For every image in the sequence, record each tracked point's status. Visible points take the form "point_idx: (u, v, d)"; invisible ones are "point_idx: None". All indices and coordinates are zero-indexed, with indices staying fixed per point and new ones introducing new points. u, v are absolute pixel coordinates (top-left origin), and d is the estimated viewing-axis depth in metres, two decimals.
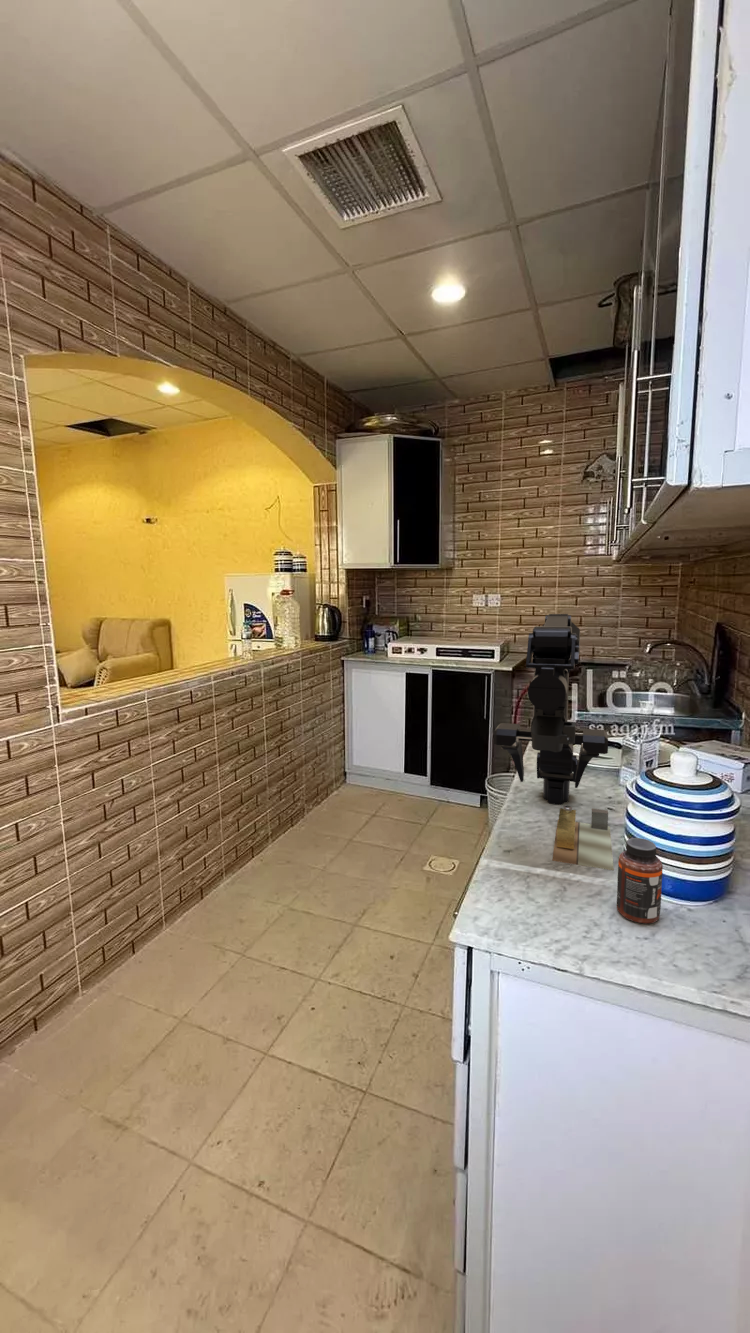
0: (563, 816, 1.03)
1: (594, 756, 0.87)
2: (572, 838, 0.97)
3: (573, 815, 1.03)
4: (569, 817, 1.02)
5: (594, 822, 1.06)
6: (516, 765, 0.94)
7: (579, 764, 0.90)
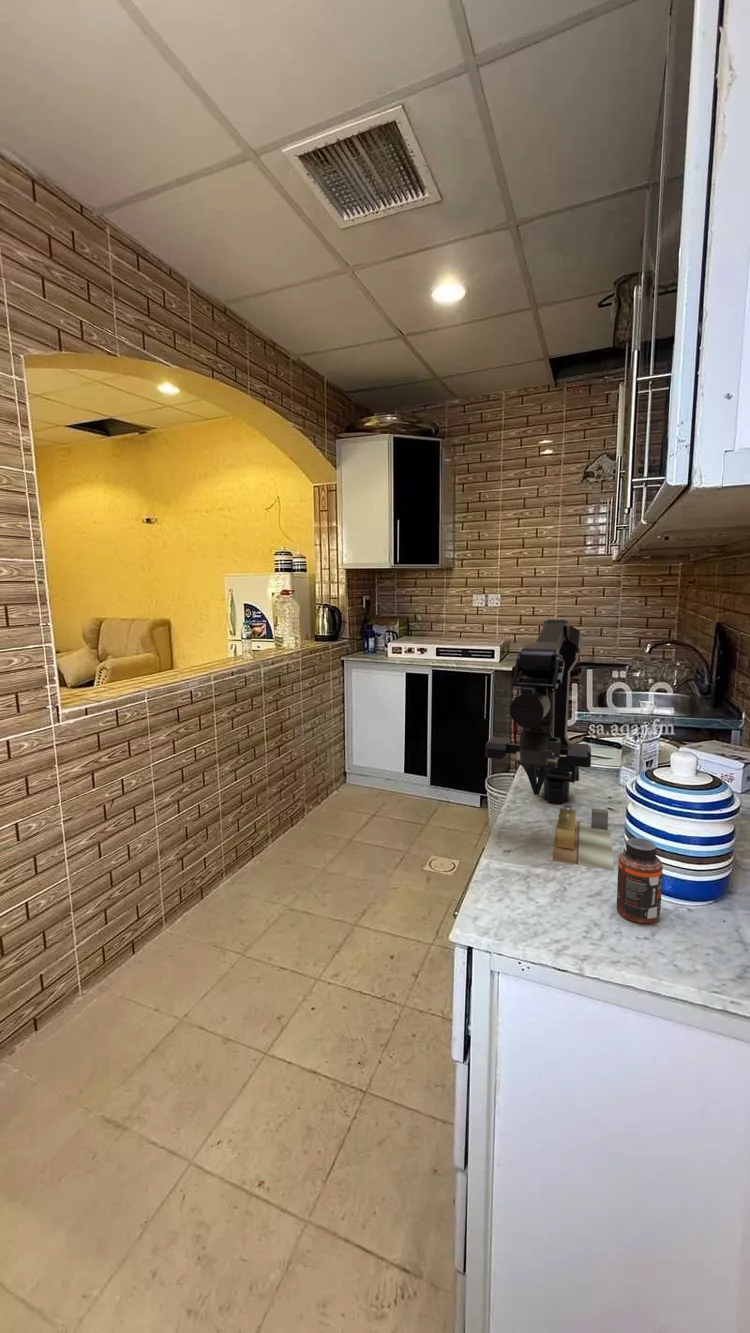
0: (563, 816, 1.03)
1: (552, 767, 0.96)
2: (572, 838, 0.97)
3: (573, 815, 1.03)
4: (569, 817, 1.02)
5: (594, 822, 1.06)
6: (530, 779, 0.99)
7: (539, 774, 0.98)
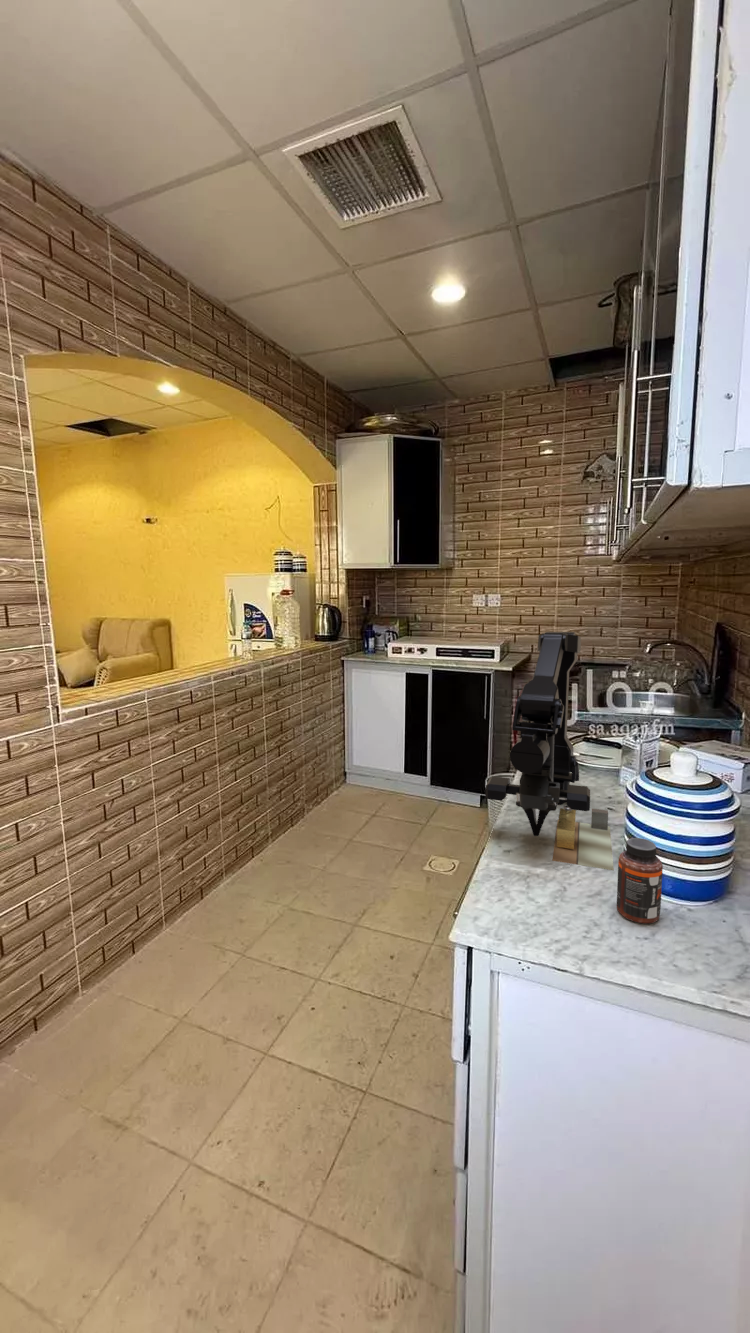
0: (563, 816, 1.03)
1: (552, 809, 0.97)
2: (572, 838, 0.97)
3: (573, 815, 1.03)
4: (569, 817, 1.02)
5: (594, 822, 1.06)
6: (530, 820, 1.00)
7: (539, 815, 0.99)
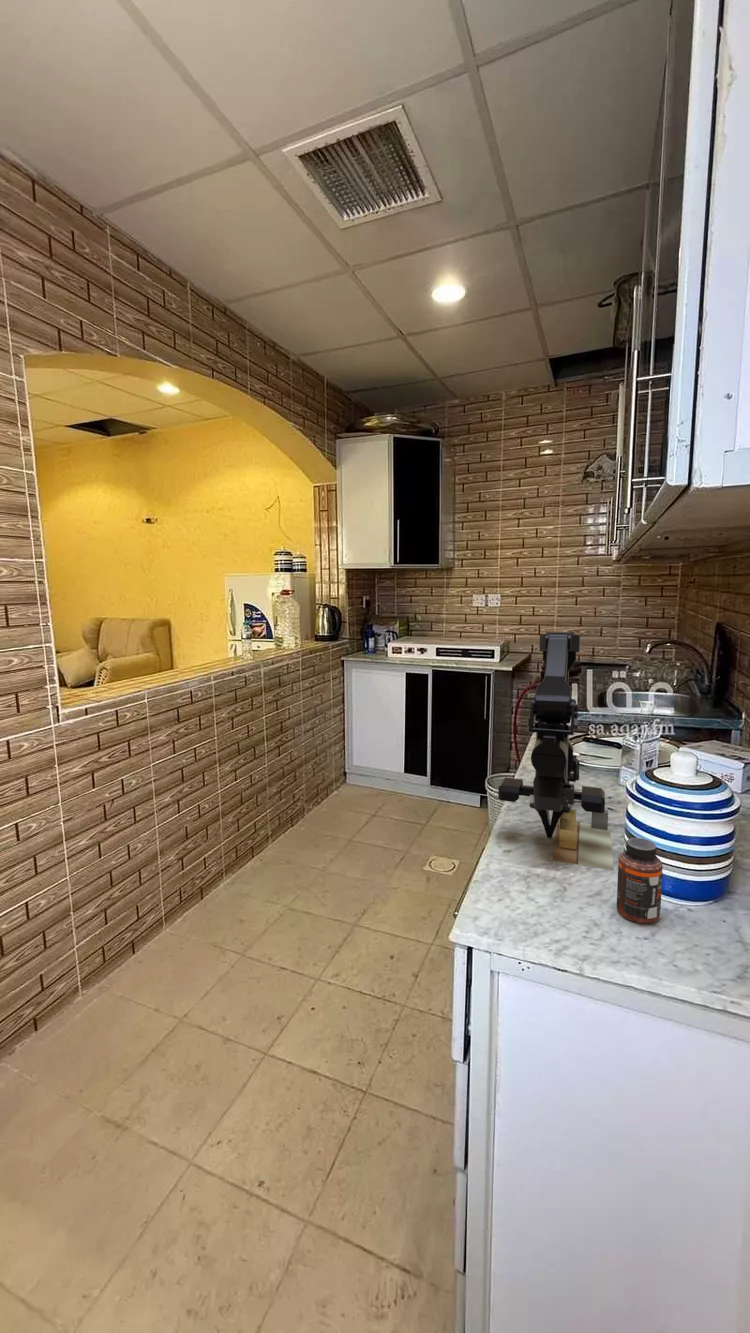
0: (564, 816, 1.03)
1: (565, 811, 0.96)
2: (574, 838, 0.97)
3: (573, 815, 1.03)
4: (570, 817, 1.02)
5: (594, 822, 1.06)
6: (543, 822, 0.99)
7: (552, 817, 0.98)
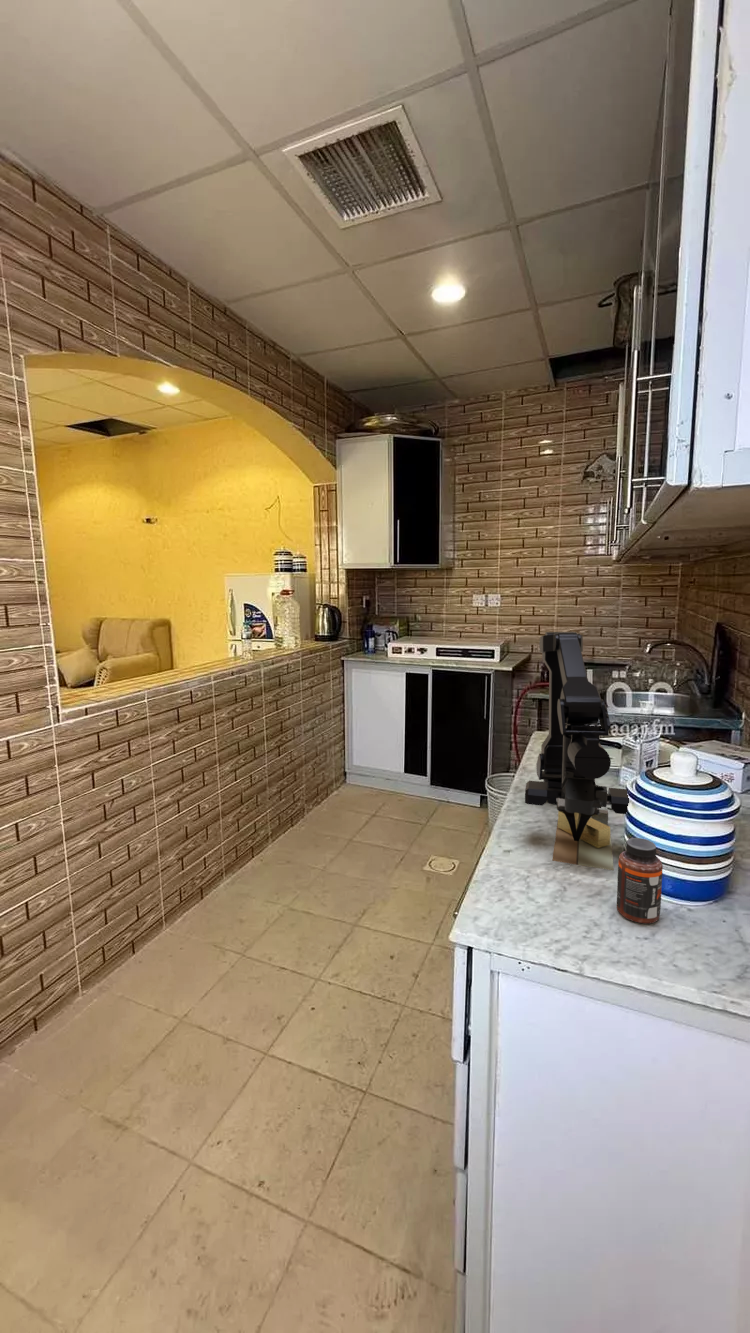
0: (576, 817, 1.02)
1: (595, 814, 0.94)
2: (608, 834, 0.98)
3: None
4: None
5: None
6: (570, 825, 0.98)
7: (581, 820, 0.97)
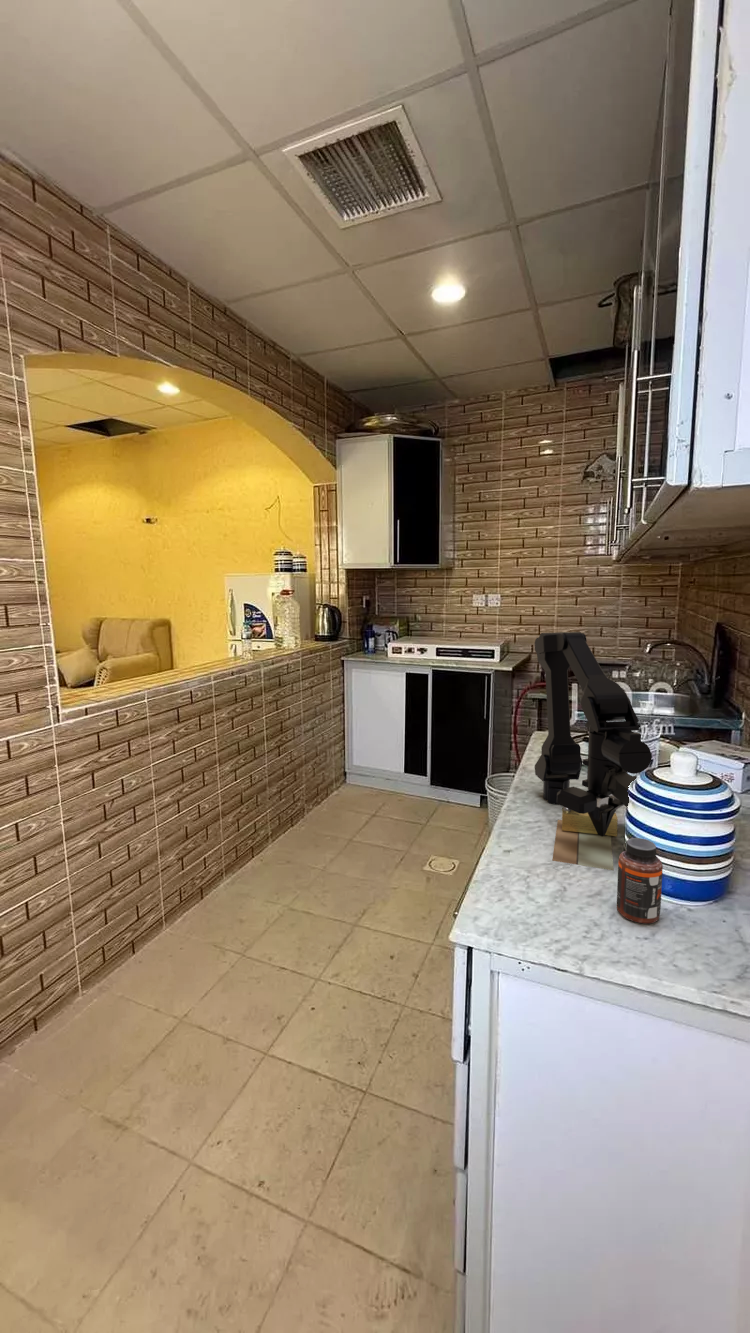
0: (582, 814, 1.04)
1: None
2: None
3: None
4: None
5: None
6: (603, 822, 0.99)
7: (610, 814, 0.99)
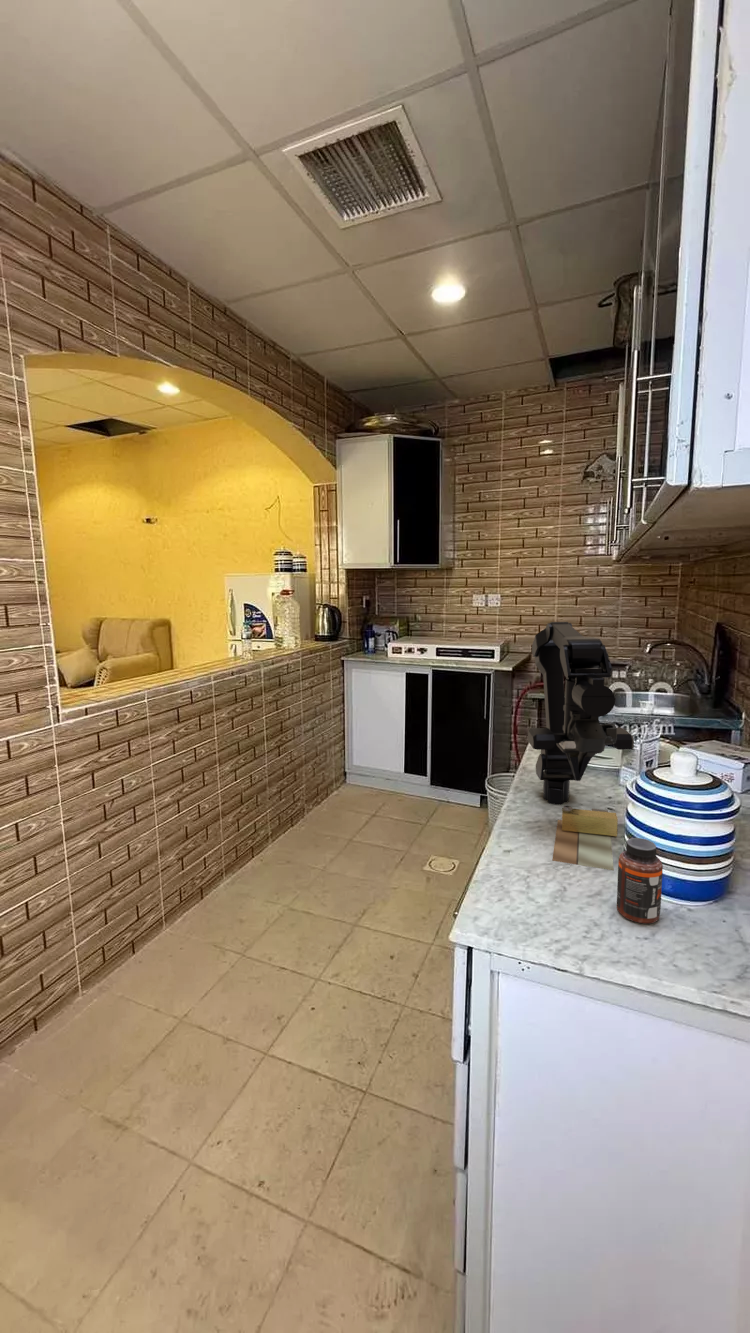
0: (582, 814, 1.04)
1: (599, 752, 1.00)
2: None
3: (577, 809, 1.06)
4: (583, 811, 1.05)
5: None
6: (574, 766, 1.02)
7: (583, 760, 1.02)
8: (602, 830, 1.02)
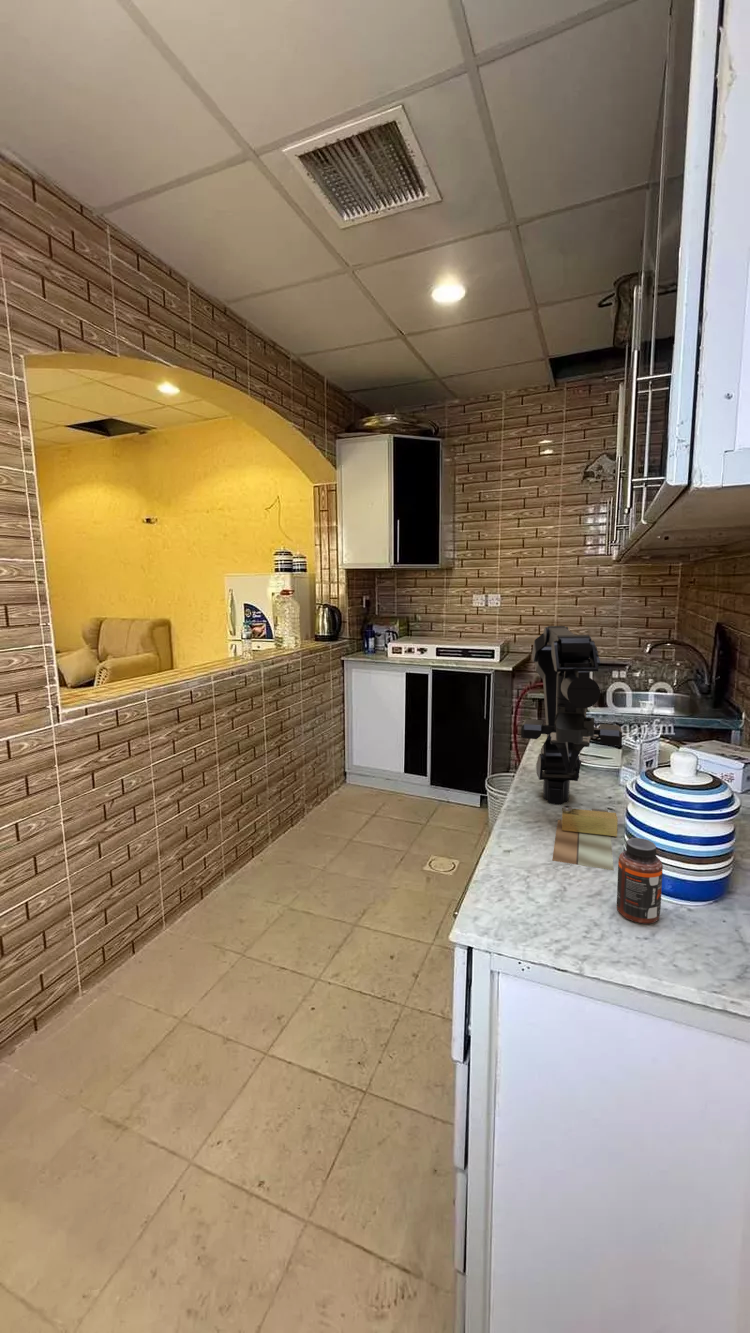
0: (582, 814, 1.04)
1: (585, 745, 1.02)
2: None
3: (577, 809, 1.06)
4: (583, 811, 1.05)
5: None
6: (563, 758, 1.06)
7: (572, 753, 1.05)
8: (602, 830, 1.02)
